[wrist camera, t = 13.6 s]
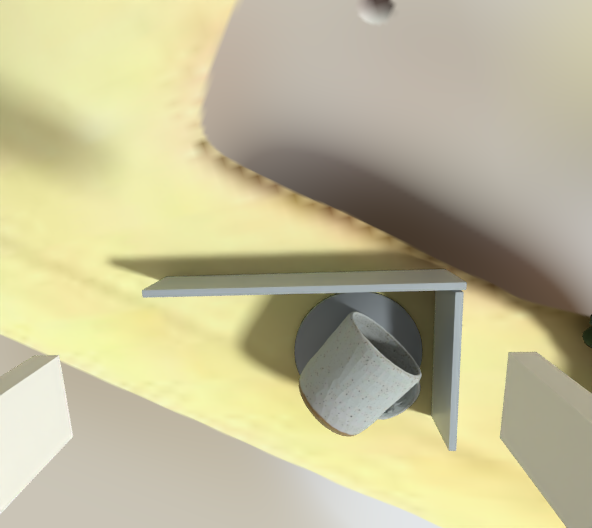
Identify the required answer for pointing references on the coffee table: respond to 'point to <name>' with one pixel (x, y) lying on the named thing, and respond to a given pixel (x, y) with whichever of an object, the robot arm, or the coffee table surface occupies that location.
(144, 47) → the coffee table surface
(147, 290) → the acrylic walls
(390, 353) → the ceramic mug
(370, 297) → the slate coaster
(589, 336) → the toy figurine
